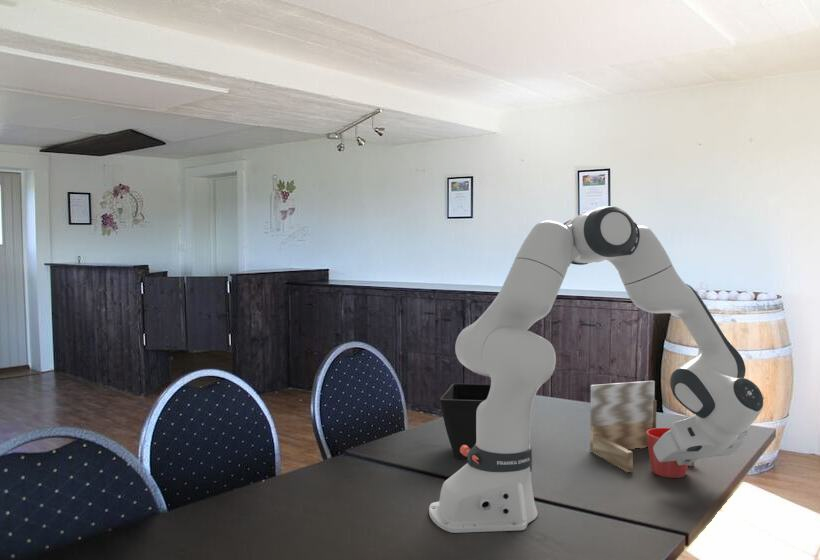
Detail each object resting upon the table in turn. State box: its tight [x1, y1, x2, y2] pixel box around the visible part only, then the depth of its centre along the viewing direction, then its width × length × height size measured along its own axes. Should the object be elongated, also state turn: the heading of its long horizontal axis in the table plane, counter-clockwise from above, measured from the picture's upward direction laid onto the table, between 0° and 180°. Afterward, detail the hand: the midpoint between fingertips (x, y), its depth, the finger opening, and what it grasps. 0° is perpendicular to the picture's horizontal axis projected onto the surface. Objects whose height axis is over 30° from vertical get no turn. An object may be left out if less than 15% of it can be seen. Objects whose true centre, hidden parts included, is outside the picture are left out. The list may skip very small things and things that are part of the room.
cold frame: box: [589, 380, 695, 473], centre depth 177 cm, size 19×18×18 cm
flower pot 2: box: [646, 427, 689, 479], centre depth 167 cm, size 11×11×10 cm
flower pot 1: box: [439, 383, 491, 461], centre depth 182 cm, size 19×19×17 cm
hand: (682, 462), depth 161 cm, fingers closed, pressing on flower pot 2
